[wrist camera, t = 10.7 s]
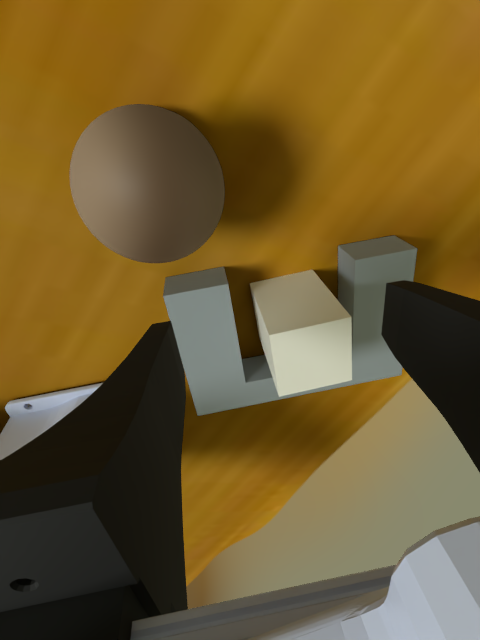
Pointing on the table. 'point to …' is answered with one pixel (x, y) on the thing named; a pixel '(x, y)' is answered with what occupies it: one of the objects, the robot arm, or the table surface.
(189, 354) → the notched board
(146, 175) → the brown knob
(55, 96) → the table surface
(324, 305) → the block
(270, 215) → the table surface
